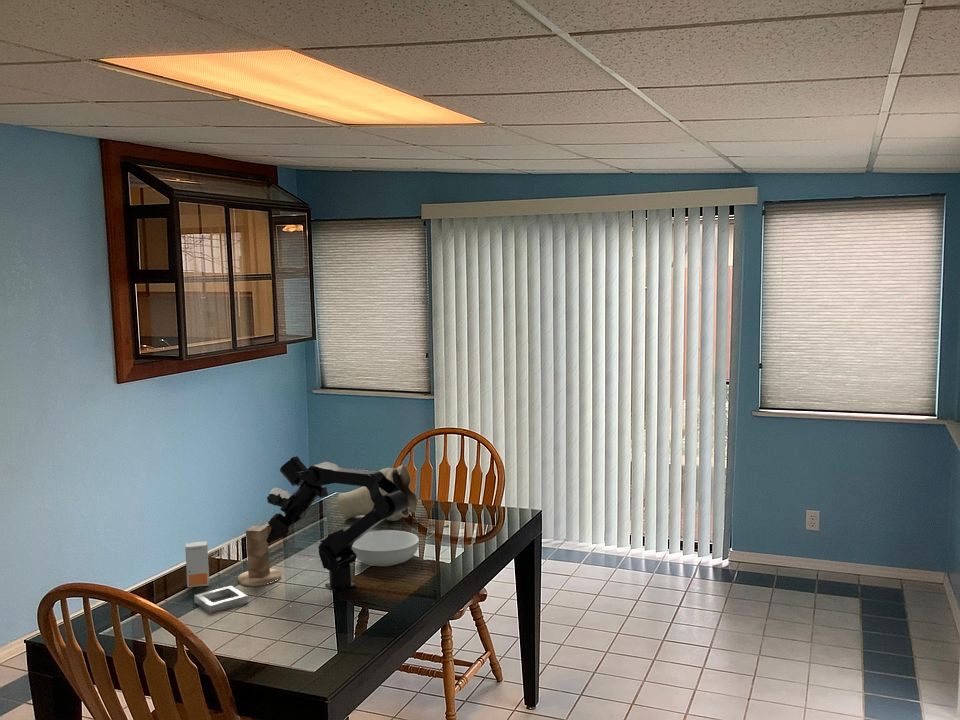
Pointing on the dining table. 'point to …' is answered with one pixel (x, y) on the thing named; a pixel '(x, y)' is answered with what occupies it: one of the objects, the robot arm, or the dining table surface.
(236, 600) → the grey square frame
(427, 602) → the dining table surface
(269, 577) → the cork coaster
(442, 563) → the dining table surface
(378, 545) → the serving bowl
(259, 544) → the tan tall block
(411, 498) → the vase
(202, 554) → the skincare box
